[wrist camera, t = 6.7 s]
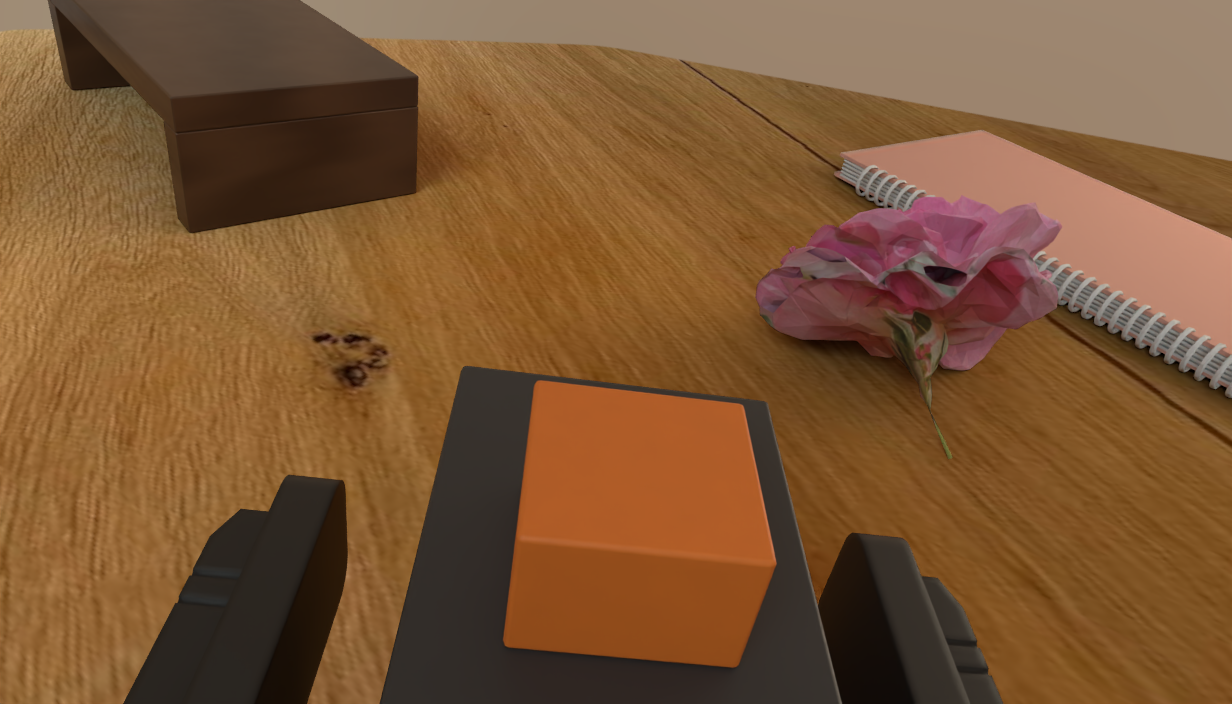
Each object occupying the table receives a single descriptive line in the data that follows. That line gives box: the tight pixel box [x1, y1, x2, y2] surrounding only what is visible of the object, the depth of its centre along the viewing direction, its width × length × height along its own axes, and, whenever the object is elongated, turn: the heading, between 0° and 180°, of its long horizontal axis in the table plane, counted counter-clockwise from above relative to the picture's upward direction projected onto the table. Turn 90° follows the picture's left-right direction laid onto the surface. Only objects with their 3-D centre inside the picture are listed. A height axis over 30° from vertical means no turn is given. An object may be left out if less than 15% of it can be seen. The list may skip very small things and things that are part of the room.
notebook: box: [834, 130, 1232, 398], centre depth 50 cm, size 27×17×2 cm, turn 36°
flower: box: [756, 195, 1062, 459], centre depth 34 cm, size 11×10×10 cm
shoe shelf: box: [48, 0, 418, 233], centre depth 44 cm, size 11×20×6 cm, turn 40°
